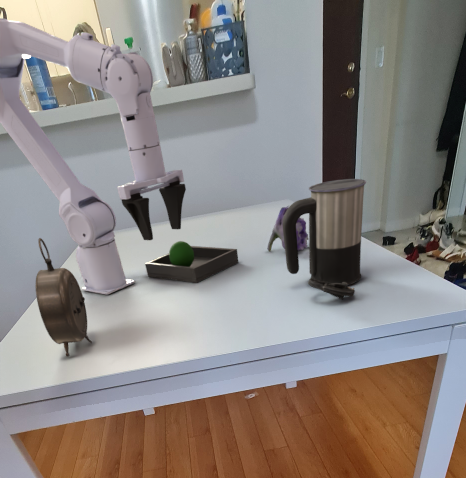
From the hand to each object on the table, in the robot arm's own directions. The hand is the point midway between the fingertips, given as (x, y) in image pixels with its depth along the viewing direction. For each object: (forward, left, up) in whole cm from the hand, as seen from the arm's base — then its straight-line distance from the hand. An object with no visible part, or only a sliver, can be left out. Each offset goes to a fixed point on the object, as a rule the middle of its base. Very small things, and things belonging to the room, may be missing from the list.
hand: (162, 234), depth 89 cm
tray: (-3, +9, -9) cm, 13 cm away
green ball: (-3, +7, -6) cm, 10 cm away
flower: (+11, +26, -10) cm, 30 cm away
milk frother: (+34, +8, -10) cm, 36 cm away
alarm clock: (+7, -29, -10) cm, 31 cm away
